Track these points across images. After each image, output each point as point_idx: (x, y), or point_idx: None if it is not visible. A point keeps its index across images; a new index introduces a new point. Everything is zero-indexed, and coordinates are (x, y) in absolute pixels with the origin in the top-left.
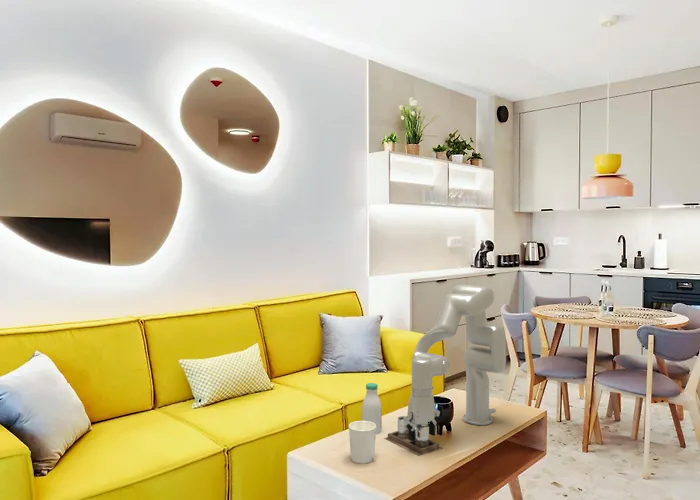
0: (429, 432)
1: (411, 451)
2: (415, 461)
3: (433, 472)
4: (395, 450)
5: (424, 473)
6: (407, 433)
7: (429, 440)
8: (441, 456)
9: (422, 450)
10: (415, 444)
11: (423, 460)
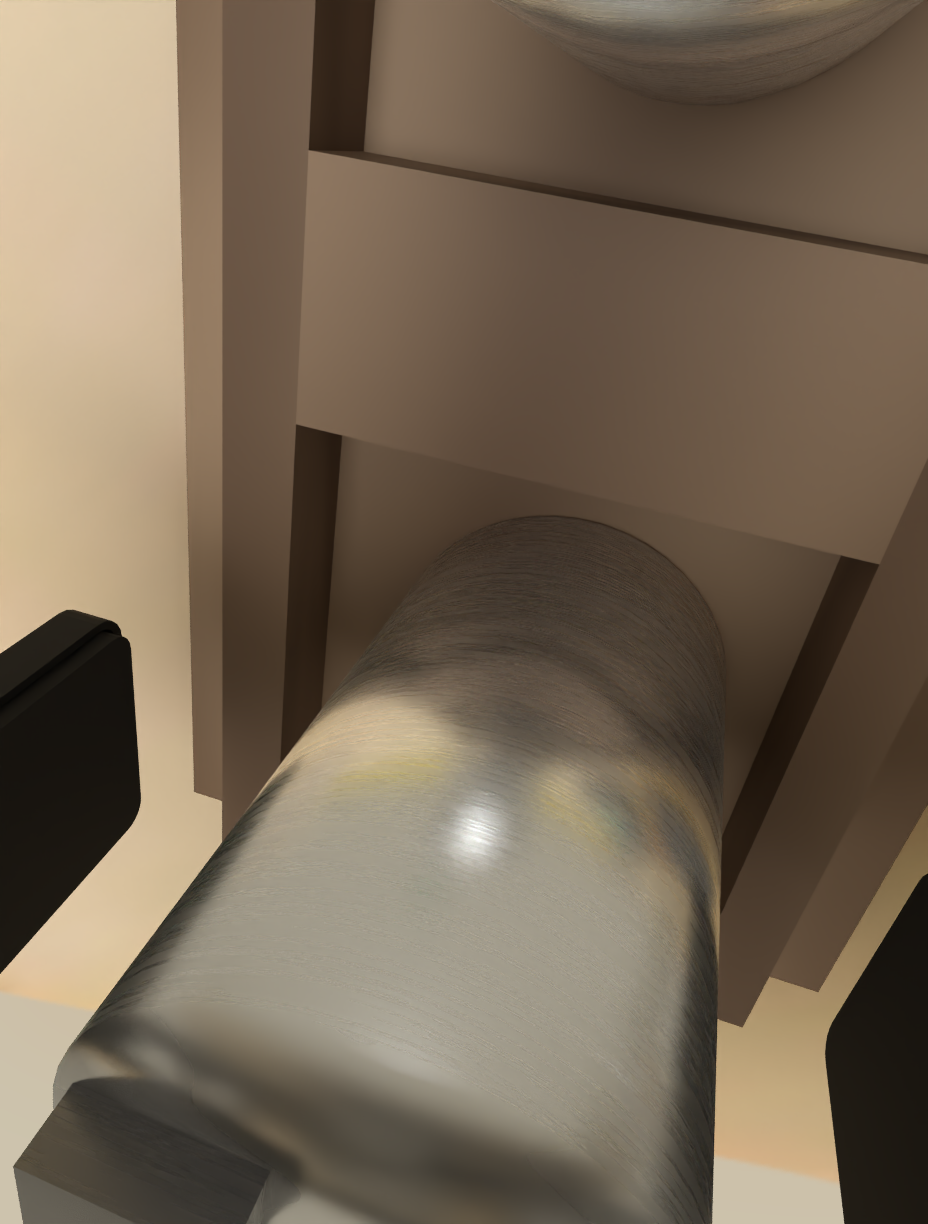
0: (912, 962)
1: (216, 602)
2: (138, 747)
3: None
4: (117, 155)
5: (31, 953)
6: (597, 65)
7: (822, 797)
8: None
9: None
10: (425, 577)
11: None
